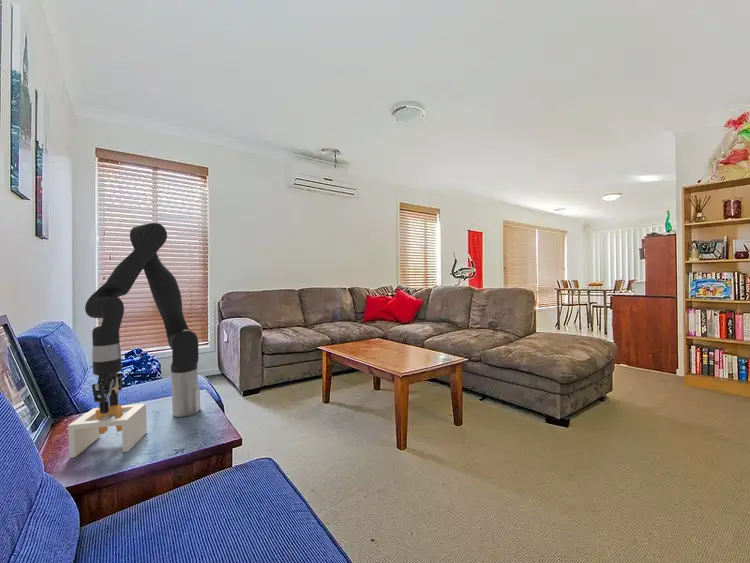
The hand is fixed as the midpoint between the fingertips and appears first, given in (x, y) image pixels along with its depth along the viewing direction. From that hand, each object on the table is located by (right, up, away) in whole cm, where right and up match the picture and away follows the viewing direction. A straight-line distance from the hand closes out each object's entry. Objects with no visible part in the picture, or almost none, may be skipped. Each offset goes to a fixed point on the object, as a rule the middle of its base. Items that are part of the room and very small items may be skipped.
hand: (109, 409), depth 118 cm
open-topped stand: (0, -11, 0) cm, 11 cm away
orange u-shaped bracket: (+1, -7, +1) cm, 7 cm away
